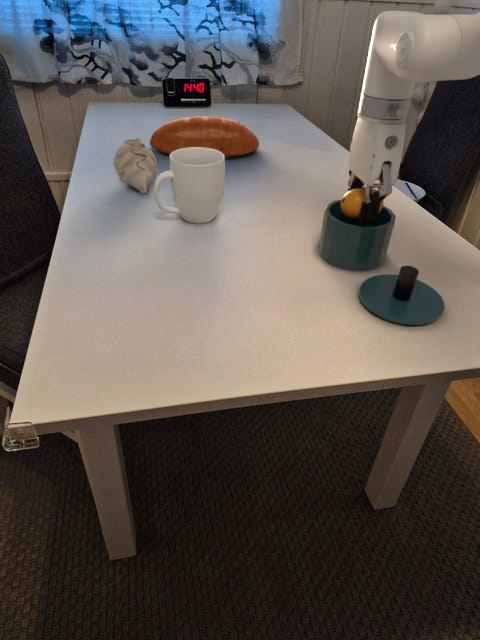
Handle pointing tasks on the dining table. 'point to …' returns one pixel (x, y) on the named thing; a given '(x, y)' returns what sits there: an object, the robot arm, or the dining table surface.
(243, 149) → the bread
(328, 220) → the pot
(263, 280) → the dining table surface
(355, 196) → the orange ribbed oval piece
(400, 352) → the dining table surface
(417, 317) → the lid
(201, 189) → the mug
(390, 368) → the dining table surface
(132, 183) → the seashell
